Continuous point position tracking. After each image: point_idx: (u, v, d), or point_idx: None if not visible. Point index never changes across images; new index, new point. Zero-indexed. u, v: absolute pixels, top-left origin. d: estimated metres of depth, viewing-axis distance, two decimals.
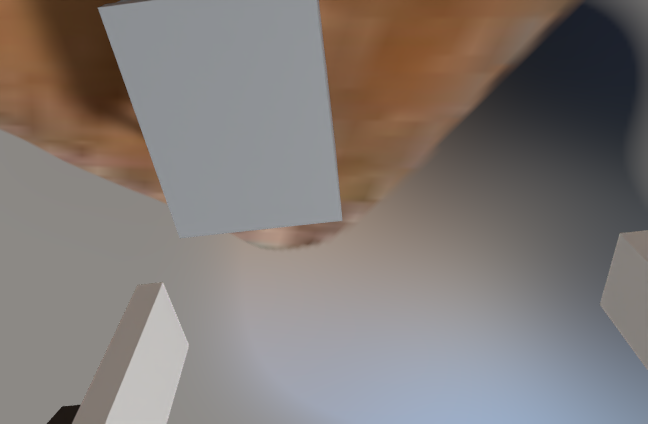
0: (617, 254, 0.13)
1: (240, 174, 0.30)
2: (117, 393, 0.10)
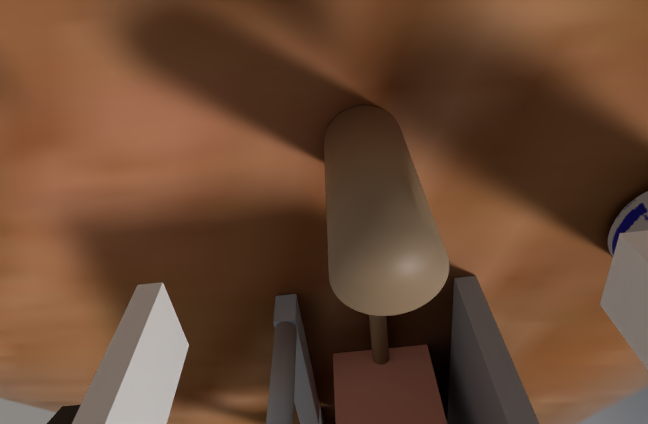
0: (617, 254, 0.13)
1: None
2: (117, 393, 0.10)
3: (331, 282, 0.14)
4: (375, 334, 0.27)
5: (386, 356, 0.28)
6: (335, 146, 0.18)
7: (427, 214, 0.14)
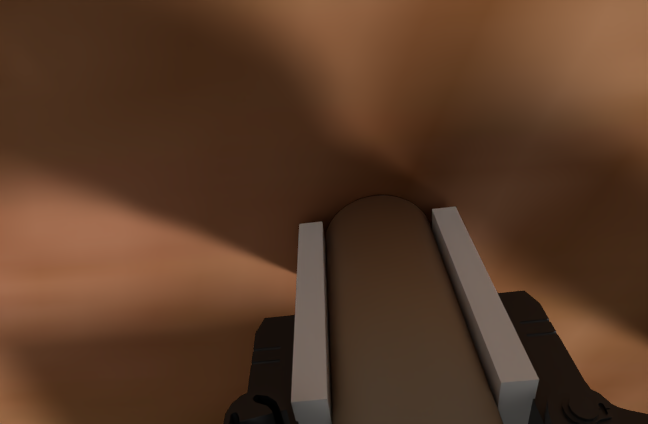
0: (432, 227, 0.15)
1: None
2: (324, 301, 0.12)
3: None
4: None
5: None
6: (341, 266, 0.13)
7: None
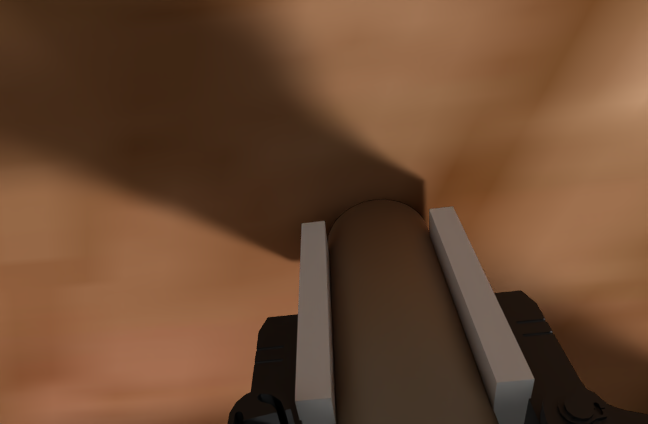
0: (430, 227, 0.15)
1: None
2: (327, 301, 0.12)
3: None
4: None
5: None
6: (343, 266, 0.14)
7: (489, 420, 0.09)
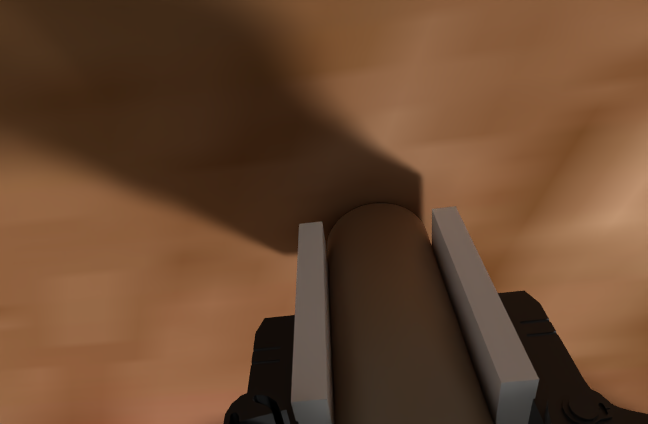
0: (432, 227, 0.15)
1: None
2: (324, 301, 0.12)
3: None
4: None
5: None
6: (342, 271, 0.14)
7: None
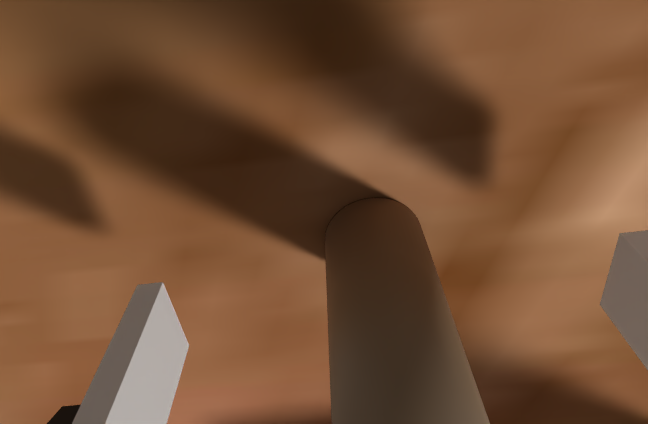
0: (617, 254, 0.13)
1: None
2: (117, 393, 0.10)
3: None
4: None
5: None
6: (339, 261, 0.14)
7: (473, 401, 0.10)
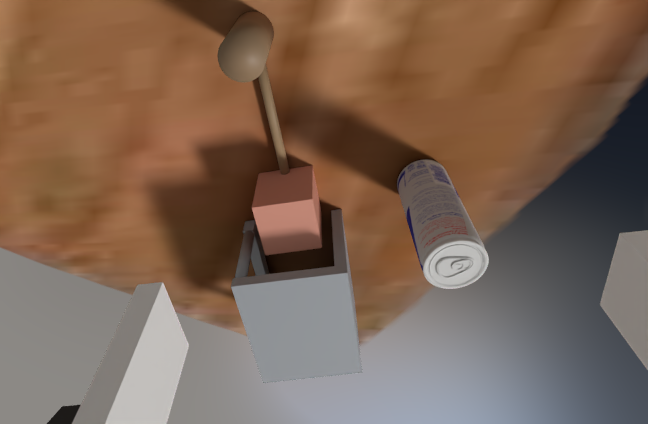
0: (617, 254, 0.13)
1: (302, 352, 0.50)
2: (117, 393, 0.10)
3: (219, 64, 0.35)
4: (277, 151, 0.48)
5: (286, 168, 0.49)
6: None
7: (257, 36, 0.35)
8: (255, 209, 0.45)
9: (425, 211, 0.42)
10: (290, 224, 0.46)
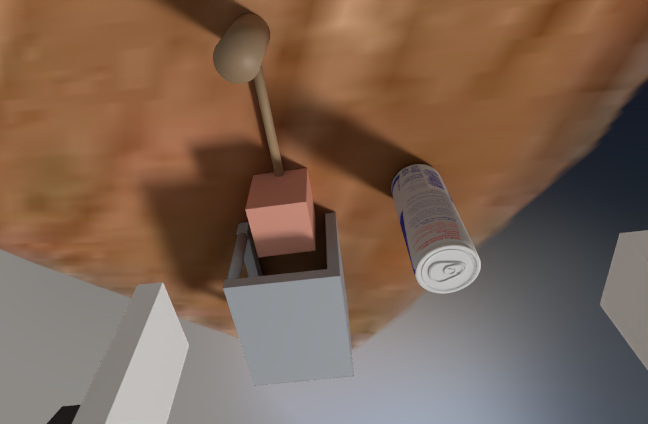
0: (617, 254, 0.13)
1: (293, 355, 0.50)
2: (117, 393, 0.10)
3: (215, 65, 0.35)
4: (272, 154, 0.48)
5: (281, 171, 0.49)
6: None
7: (253, 38, 0.35)
8: (249, 211, 0.45)
9: (418, 216, 0.42)
10: (283, 226, 0.46)
